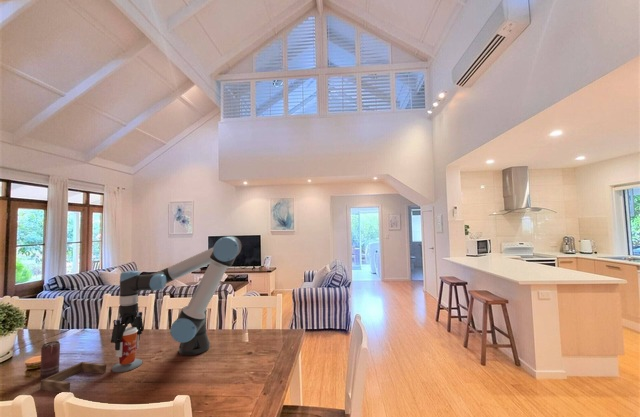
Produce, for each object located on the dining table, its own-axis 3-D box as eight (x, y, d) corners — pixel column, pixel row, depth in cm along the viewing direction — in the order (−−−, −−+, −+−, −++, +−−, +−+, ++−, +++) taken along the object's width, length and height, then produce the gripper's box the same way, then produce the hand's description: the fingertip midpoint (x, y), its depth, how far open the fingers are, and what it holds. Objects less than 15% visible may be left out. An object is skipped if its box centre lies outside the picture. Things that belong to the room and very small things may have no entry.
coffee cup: (127, 366, 130) (127, 333, 131) (112, 365, 131) (112, 332, 132) (141, 358, 138) (142, 326, 139) (127, 356, 140) (128, 325, 140)
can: (42, 380, 123) (44, 347, 123) (38, 376, 126) (39, 344, 127) (61, 374, 128) (62, 342, 129) (56, 370, 131) (57, 339, 132)
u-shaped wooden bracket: (106, 372, 129) (106, 364, 129) (66, 393, 113) (66, 384, 113) (82, 369, 132) (82, 361, 132) (40, 389, 116) (40, 380, 116)
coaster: (148, 361, 139) (148, 359, 139) (126, 373, 127) (126, 372, 127) (127, 359, 142) (127, 357, 142) (104, 371, 130) (104, 369, 130)
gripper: (140, 298, 147) (139, 342, 146) (101, 309, 127) (99, 362, 125) (152, 298, 146) (152, 343, 144) (114, 310, 125) (113, 363, 124)
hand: (127, 352), depth 135 cm, fingers closed on coffee cup, 8 cm apart
